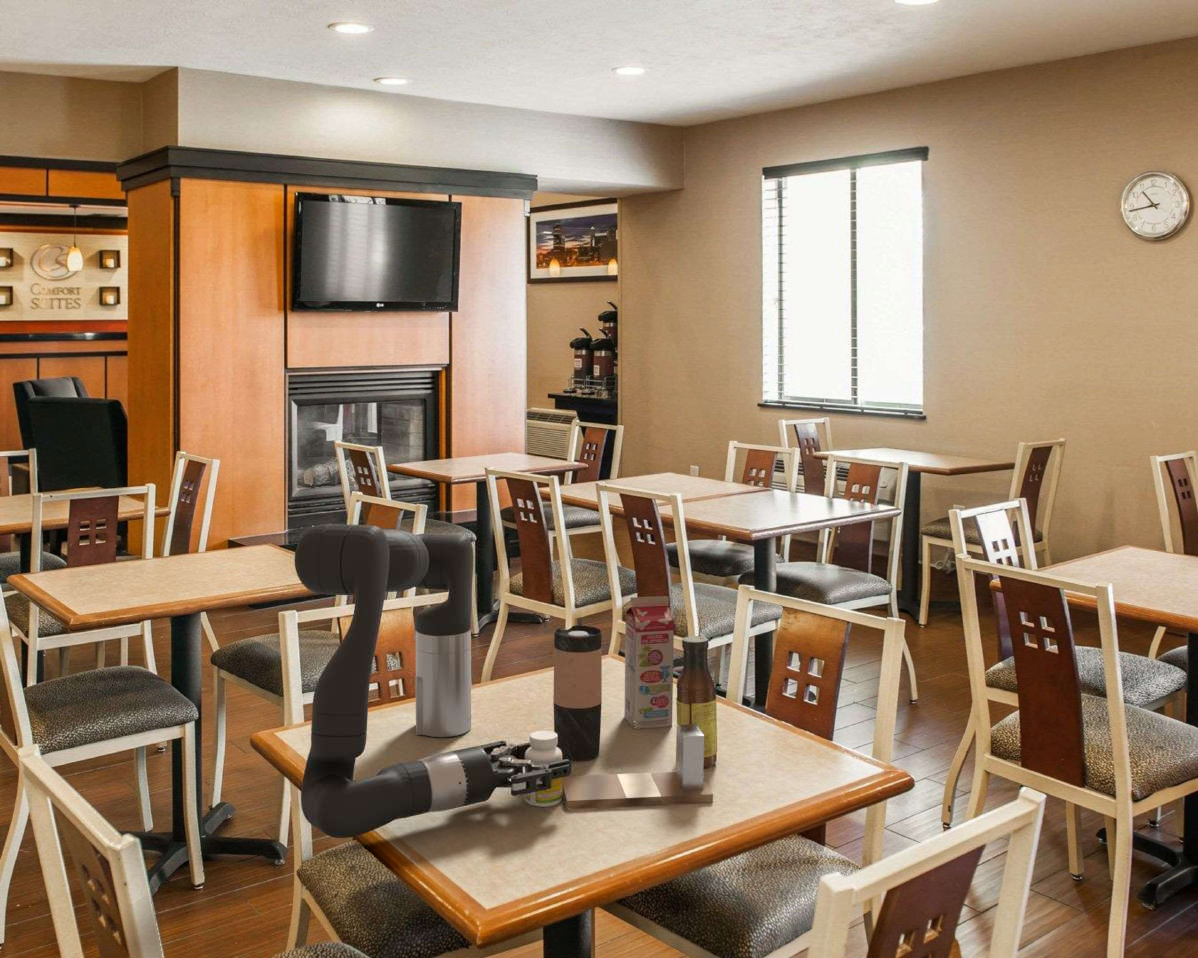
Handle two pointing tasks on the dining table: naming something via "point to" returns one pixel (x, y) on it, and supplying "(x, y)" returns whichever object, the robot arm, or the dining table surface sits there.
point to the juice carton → (649, 663)
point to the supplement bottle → (544, 753)
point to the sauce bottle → (698, 695)
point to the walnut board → (629, 790)
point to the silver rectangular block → (689, 756)
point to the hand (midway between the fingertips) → (554, 757)
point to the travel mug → (578, 691)
